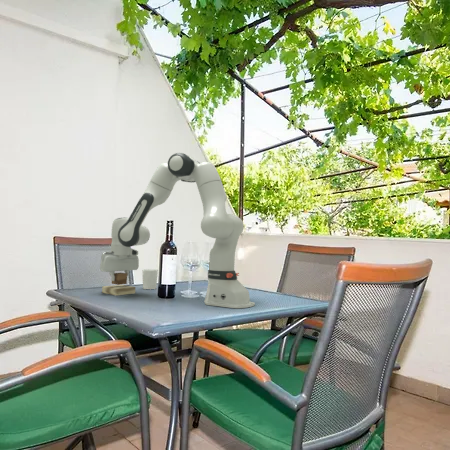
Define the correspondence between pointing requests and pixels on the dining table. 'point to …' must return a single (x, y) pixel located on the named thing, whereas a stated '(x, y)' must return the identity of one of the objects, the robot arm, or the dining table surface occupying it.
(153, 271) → the white cup
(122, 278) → the walnut cube
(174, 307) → the dining table surface
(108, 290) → the birch plinth
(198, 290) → the dining table surface
